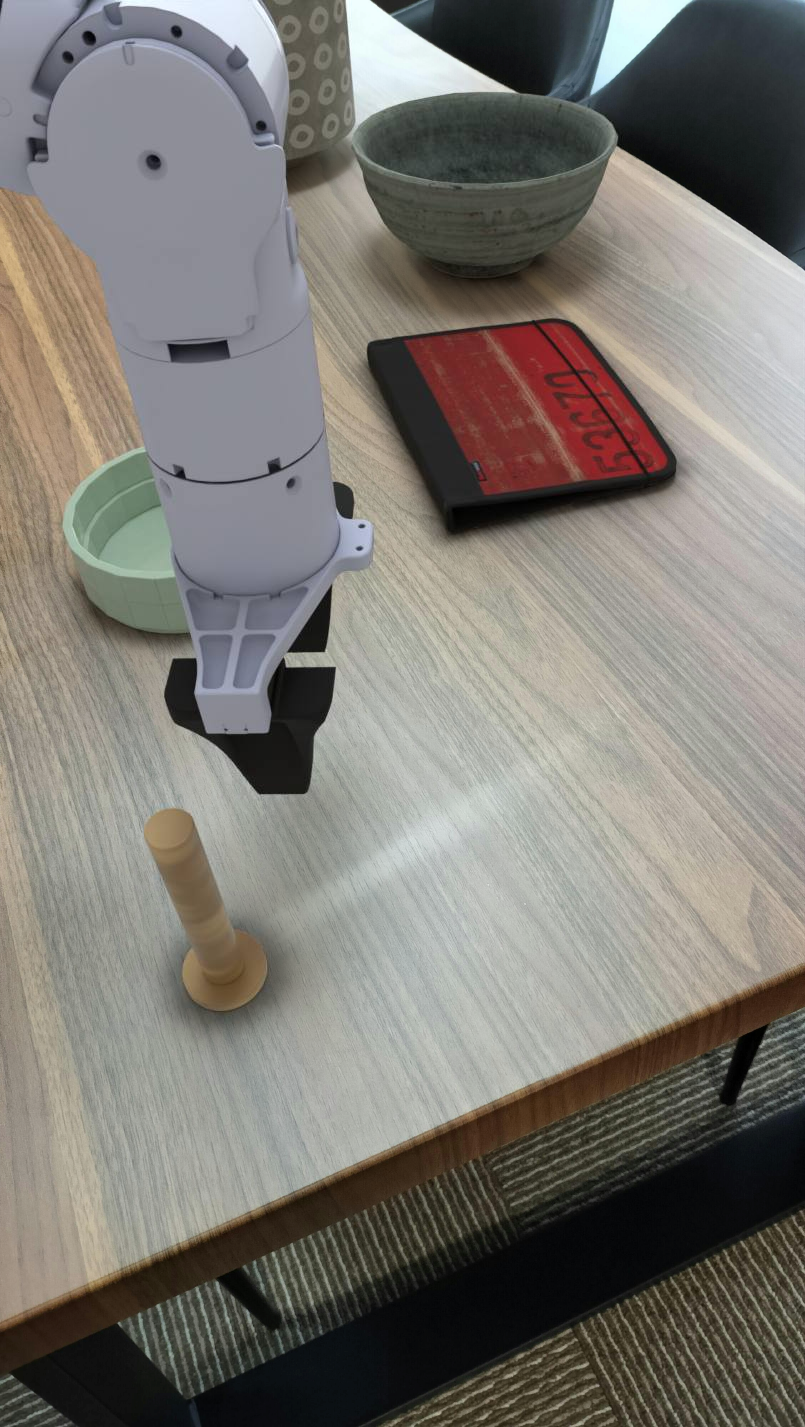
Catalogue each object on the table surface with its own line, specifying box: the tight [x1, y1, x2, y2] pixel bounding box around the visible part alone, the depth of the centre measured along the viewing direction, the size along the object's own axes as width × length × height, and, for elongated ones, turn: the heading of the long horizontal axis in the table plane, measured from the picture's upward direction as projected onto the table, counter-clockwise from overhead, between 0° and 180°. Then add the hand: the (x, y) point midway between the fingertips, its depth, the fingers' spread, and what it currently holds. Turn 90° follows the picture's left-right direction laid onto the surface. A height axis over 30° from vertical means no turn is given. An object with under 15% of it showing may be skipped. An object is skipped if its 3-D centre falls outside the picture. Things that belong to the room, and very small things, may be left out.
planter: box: [262, 0, 356, 172], centre depth 97 cm, size 19×19×18 cm
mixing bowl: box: [61, 445, 190, 635], centre depth 61 cm, size 13×13×4 cm
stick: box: [143, 807, 268, 1012], centre depth 41 cm, size 4×4×11 cm
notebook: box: [366, 317, 678, 534], centre depth 70 cm, size 16×2×21 cm
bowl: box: [351, 91, 619, 279], centre depth 84 cm, size 21×21×10 cm
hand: (293, 713), depth 43 cm, fingers open, 7 cm apart
